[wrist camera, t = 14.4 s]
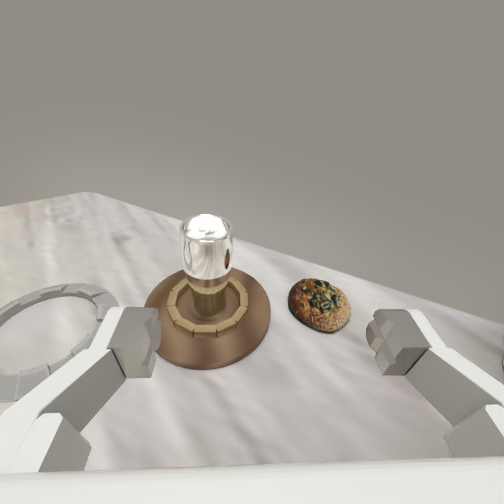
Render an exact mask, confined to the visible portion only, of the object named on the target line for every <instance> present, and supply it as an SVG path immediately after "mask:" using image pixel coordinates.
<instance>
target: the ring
mask: <svg viewBox="0 0 504 504" xmlns="http://www.w3.org/2000/svg"><path fill="white" fill-rule="evenodd" d="M63 296H77V297H82V298H86V299H88V300H90V301H92V302H93V303H94V304H95V305H96V306H97V309H98V312H97V318H96V319H97V324H96V327H95V329H94V330H93V332H92V334H91V335H90V334H87V335H86V337H85V338H84V339H83V340H82V341H81V342H80V343H79V344H78V345H76V346H75V347H74V348H73V349H71V350H70V351H71V354H70V355H68V356H67V357H65V358H64V359H62V360H60V361H59V362H57V363H55V364H53V365H51V366H49V365H48V364H44V365H42V366H39V367H36V368H32V369H29V370H24V371H20V372H19V374H17V375H7V374H0V402H11V401H17V400H20V399H21V398H22V397H24V396H25V395H26V394H27V393H29V392H30V391H31V390H33V389H34V388H35V387H36V386H38V385H39V384H40V383H41V382H43V381H44V380H45V379H47V378H48V377H49V376H50V375H52V374H53V373H54V372H55V371H57V370H58V369H59V368H61V367H62V366H63V365H64V364H66V363H67V362H68V361H69V360H71V359H72V358H73V357H75V356H76V355H77V354H78V353H80V352H81V351H82V350H84V349H89V347H90V345H91V343H92V341H93V339H94V337H95V335H96V333H97V331H98V329H99V327H100V325H101V323H102V321H103V319H104V317H105V315H106V313H107V311H108V310H109V309H110V308H111V307H119V304H118V302H117V300H116V299H115V297H114V296H113V295H112V294H111V293H110V292H108V291H107V290H105V289H103V288H101V287H99V286H95V285H90V284H80V283H74V284H61V285H56V286H51V287H47V288H44V289H41V290H38V291H35V292H32V293H30V294H27V295H25V296H23V297H21V298H19V299H16V300H14V301H12V302H10V303H9V304H7V305H5V306H4V307H2V308H0V327H1V326H2V325H3V324H4V323H5V322H6V321H7V320H8V319H10V318H11V317H12V316H14V315H15V314H17V313H18V312H20V311H22V310H23V309H25V308H27V307H29V306H31V305H34V304H36V303H39V302H41V301H44V300H48V299H51V298H56V297H63Z"/></svg>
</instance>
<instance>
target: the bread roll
mask: <svg viewBox="0 0 504 504" xmlns="http://www.w3.org/2000/svg"><path fill="white" fill-rule="evenodd" d="M288 298H289V299H288V303H289V305H288V306H289V309H290V311H291V312H292V314H293V315H295V316H296V318H297V319H298V320H299V321H300V322H302V323H304V324H305V325H307V326H309V327H311V326H312V327H314V328H315V329H316V330H318V331H321V332H326V333H332V332H334V331H339V330H341V329H342V328H341V327H343V325H345V324H346V322H347V321H348V320H349V319H350V316H351V313H350V309H351V308H350V304H349V303H348V299H347V298H346V296H345V295H344V293H343V292H342V291H341V290H340V289H338V288H336V287H334V286H332V285H331V284H329V282H326V281H323V280H318V279H302V280H301V281H299V282H298V283H296V284H295V285H294V286H293V287H292V288H291V290H290V292H289V297H288Z"/></svg>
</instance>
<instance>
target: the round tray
mask: <svg viewBox="0 0 504 504" xmlns="http://www.w3.org/2000/svg"><path fill="white" fill-rule="evenodd" d="M226 295H227V299H228V309H227V311H226V313H225V314H224V315H223V316H222V317H220V318H219V319H216V320H212V321H203V320H200V319H198V318H196V317H195V316H194V315H193V314H192V313H191V311H190V300H191V289H190V286H189V284H188V281H187V278H186V275H185V272H184V270H181V271H178V272H176V273H174V274H172V275H171V276H169V277H167V278H166V279H165V280H163V281H162V282H161V283H160V284H158V285H157V286H156V287H155V289H154V290H153V291H152V292H151V294H150V295H149V297H148V299H147V301H146V303H145V306H144V308H157V310H158V313H159V315H158V318H157V320H159V321H160V322H161V326H162V336H161V342H160V346H159V348H158V349H157V350H156V352H157V353H158V354H159V355H160V356H161V357H163V358H164V359H166V360H167V361H169V362H171V363H173V364H175V365H178V366H181V367H184V368H190V369H199V370H206V369H216V368H221V367H224V366H228V365H231V364H233V363H235V362H237V361H239V360H241V359H243V358H244V357H246V356H247V355H249V354H250V353H251V352H252V351H253V350H254V349H255V348H256V347H257V346H258V345H259V344H260V342H261V341H262V339H263V338H264V336H265V334H266V332H267V328H268V325H269V320H270V303H269V299H268V296H267V294H266V292H265V290H264V289H263V287H262V286H261V285H260V284H259V283H258V282H257V281H256V280H255V279H254V278H253V277H251V276H250V275H248V274H246V273H245V272H242V271H240V270H238V269H235V268H232V267H231V271H230V275H229V279H228V283H227V287H226Z"/></svg>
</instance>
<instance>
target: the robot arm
mask: <svg viewBox="0 0 504 504" xmlns="http://www.w3.org/2000/svg"><path fill="white" fill-rule="evenodd" d="M158 315H159V313H158V310H157V308H142V307H111V308H110V309H109V310H108V311H107V313H106V315H105V317H104V319H103V321H102V323H101V325H100V327H99V329H98V331H97V333H96V335H95V337H94V339H93V341H92V343H91V345H90V347H89V349H84V350H82V351H81V352H80V353H78V354H77V355H76V356H75V357H73V358H72V359H71V360H69V361H68V362H67V363H66V364H64V365H63V366H62V367H61V368H59V369H58V370H57V371H55V372H54V373H53V374H52V375H50V376H49V377H48V378H47V379H45V380H44V381H43V382H41V383H40V384H39V385H38V386H36V387H35V388H34V389H33V390H31V391H30V392H29V393H27V394H26V395H25V396H24V397H22V398H21V399H20V400H18V401H17V402H16V403H15V404H13V405H12V406H11V407H10V408H8V409H7V410H6V411H4V412H3V414H2V415H1V417H0V504H504V385H503V384H502V383H500V382H499V381H497V380H496V379H495V378H493V377H492V376H490V375H489V374H487V373H486V372H484V371H483V370H482V369H480V368H479V367H477V366H476V365H474V364H473V363H471V362H470V361H469V360H467V359H466V358H464V357H463V356H461V355H460V354H459V353H457V352H456V351H454V350H453V349H451V348H447V347H446V346H445V345H444V343H443V342H442V340H441V339H440V337H439V336H438V335H437V333H436V332H435V330H434V329H433V328H432V326H431V325H430V323H429V322H428V320H427V319H426V318H425V316H424V315H423V313H422V312H421V311H419V310H403V309H378V310H377V311H375V313H374V315H373V317H374V320H373V321H371V322H370V323H369V324H368V326H367V328H366V338H367V342H368V344H369V346H370V348H371V349H373V350H374V351H375V352H376V355H375V360H376V362H377V364H378V367H379V369H380V371H381V373H382V375H399V376H405V378H406V379H407V380H408V381H409V382H410V383H411V384H412V385H413V386H414V387H415V388H416V389H417V390H418V391H419V392H420V393H421V394H422V395H423V396H424V397H425V398H426V399H427V400H428V401H429V402H430V403H431V404H432V405H433V406H434V407H435V408H436V409H437V410H438V411H439V412H440V413H441V414H442V415H443V416H444V417H445V418H446V419H447V420H448V421H449V422H450V423H451V424H452V425H453V426H454V427H453V428H451V429H450V430H449V431H447V432H446V433H445V434H444V436H443V438H444V440H445V442H446V444H447V446H448V448H449V450H450V451H451V453H452V455H453V457H454V458H429V459H400V460H372V461H343V462H315V463H286V464H257V465H229V466H200V467H172V468H143V469H115V470H86V471H83V470H84V467H85V465H86V462H87V459H88V456H89V453H90V451H91V446H90V443H89V442H88V441H87V440H86V439H85V438H84V437H83V436H82V435H81V434H80V432H81V431H82V430H83V428H84V427H85V426H86V425H87V424H88V423H89V422H90V420H91V419H92V418H93V417H94V416H95V415H96V414H97V412H98V411H99V410H100V409H101V408H102V407H103V406H104V404H105V403H106V402H107V401H108V400H109V399H110V398H111V396H112V395H113V394H114V393H115V392H116V391H117V390H118V388H119V387H120V386H121V385H122V384H123V383H124V382H125V380H126V378H151V376H152V372H153V369H154V365H155V361H156V357H155V354H154V352H155V351H156V350H157V349H158V348H159V346H160V342H161V336H162V326H161V322H160V321H159V320H157V318H158ZM503 365H504V358H503Z"/></svg>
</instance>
